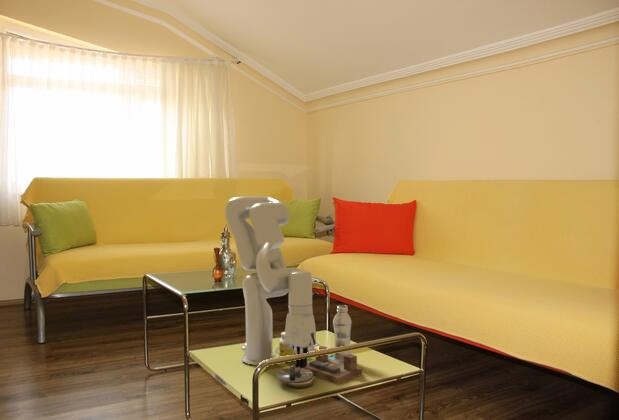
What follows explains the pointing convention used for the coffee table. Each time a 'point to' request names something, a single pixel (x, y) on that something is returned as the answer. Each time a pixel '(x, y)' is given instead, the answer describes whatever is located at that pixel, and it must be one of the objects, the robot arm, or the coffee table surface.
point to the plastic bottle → (342, 331)
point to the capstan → (296, 376)
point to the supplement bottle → (285, 346)
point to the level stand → (334, 368)
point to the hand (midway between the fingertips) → (301, 366)
